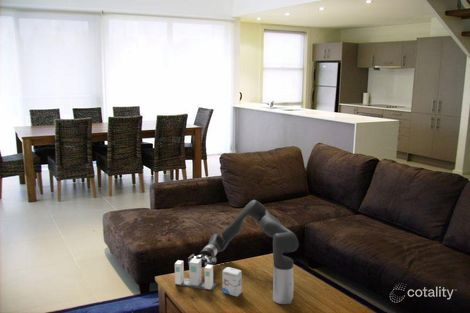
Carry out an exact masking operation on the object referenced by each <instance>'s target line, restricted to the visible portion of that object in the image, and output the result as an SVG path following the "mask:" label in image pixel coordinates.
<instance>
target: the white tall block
mask: <svg viewBox="0 0 470 313" xmlns="http://www.w3.org/2000/svg"><path fill="white" fill-rule="evenodd" d="M188 268H189V269H188V270H189V272H188V273H189V275H188V276H189V278H188V279H190V285H196V286H198V285H199V284H200V283H201V282H202V281H203V280H202V277H203V275H202V271H203V270H202V268H203V267H202V263H201V259H195V258H193V259H192V260H191V261H190V262H189V265H188Z"/></svg>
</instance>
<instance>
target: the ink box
mask: <svg viewBox="0 0 470 313" xmlns="http://www.w3.org/2000/svg"><path fill="white" fill-rule="evenodd" d="M221 273H222V293H223V294H227V295H231V296H234V297H238V296H240V295H241V293H242V284H243V283H242V279H243V278H242V277H243V276H242V273H243V272H242V270H240V269H237V268H233V267H229V266H227V267H225V268H224V269H223V270H222V272H221Z"/></svg>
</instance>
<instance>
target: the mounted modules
mask: <svg viewBox="0 0 470 313" xmlns="http://www.w3.org/2000/svg"><path fill="white" fill-rule="evenodd" d="M184 266H185V265H184V260H179V259H178V260H176V262H175V263H174V284H180V285H179V286H181V284H182V283H183V282H184V278H185V271H184V270H185V268H184ZM204 281H205V289H204V290H206V289H211V288H212V287H213V283H214V266H213V265H208V264H207V266H206V267H205V269H204Z"/></svg>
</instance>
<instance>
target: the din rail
mask: <svg viewBox="0 0 470 313" xmlns="http://www.w3.org/2000/svg"><path fill="white" fill-rule="evenodd" d="M174 284H175V283H174ZM175 285H176V286H182V287H188V288H196V289H200V290H201V289H202V290H207V291H213V290H214V289H215V288H216V286H217V283H216V282H213V287H212V288H211V289H205V280H202V282H201V283H200V284H199V285H198V286H196V285H190V278H185V277H184V282H183V283H182V284H181V285H180V284H175Z"/></svg>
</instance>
